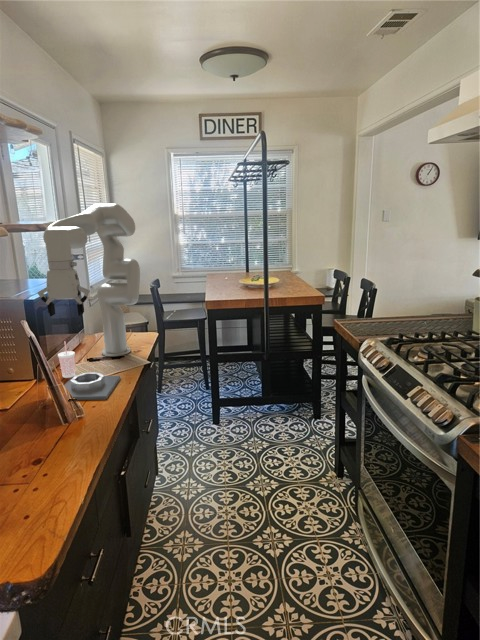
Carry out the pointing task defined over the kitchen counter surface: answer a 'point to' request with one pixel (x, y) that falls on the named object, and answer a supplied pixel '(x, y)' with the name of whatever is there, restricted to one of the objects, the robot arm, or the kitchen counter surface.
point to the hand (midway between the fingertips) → (66, 314)
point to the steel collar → (82, 385)
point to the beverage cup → (67, 363)
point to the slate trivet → (96, 394)
